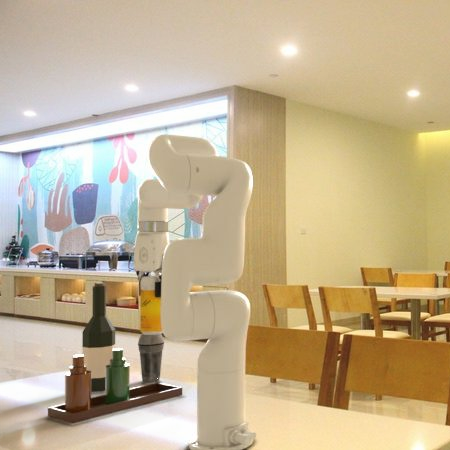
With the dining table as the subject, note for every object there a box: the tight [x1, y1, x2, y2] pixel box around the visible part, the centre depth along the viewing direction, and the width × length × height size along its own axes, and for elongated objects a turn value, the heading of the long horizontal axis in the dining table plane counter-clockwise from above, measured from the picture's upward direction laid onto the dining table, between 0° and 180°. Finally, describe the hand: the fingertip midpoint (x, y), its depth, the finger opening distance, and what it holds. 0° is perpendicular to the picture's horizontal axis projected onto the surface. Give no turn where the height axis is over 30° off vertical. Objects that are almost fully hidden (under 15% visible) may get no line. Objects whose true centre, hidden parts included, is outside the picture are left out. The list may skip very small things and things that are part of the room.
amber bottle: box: [64, 354, 92, 413], centre depth 144 cm, size 6×6×14 cm
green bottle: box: [104, 347, 131, 405], centre depth 153 cm, size 6×6×14 cm
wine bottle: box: [81, 282, 116, 393], centre depth 171 cm, size 8×8×30 cm
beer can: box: [139, 275, 163, 335], centre depth 161 cm, size 6×6×15 cm
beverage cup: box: [137, 333, 165, 384], centre depth 179 cm, size 7×7×20 cm
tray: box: [47, 381, 183, 424], centre depth 153 cm, size 11×30×3 cm, turn 147°
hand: (152, 295), depth 161 cm, fingers closed on beer can, 6 cm apart
